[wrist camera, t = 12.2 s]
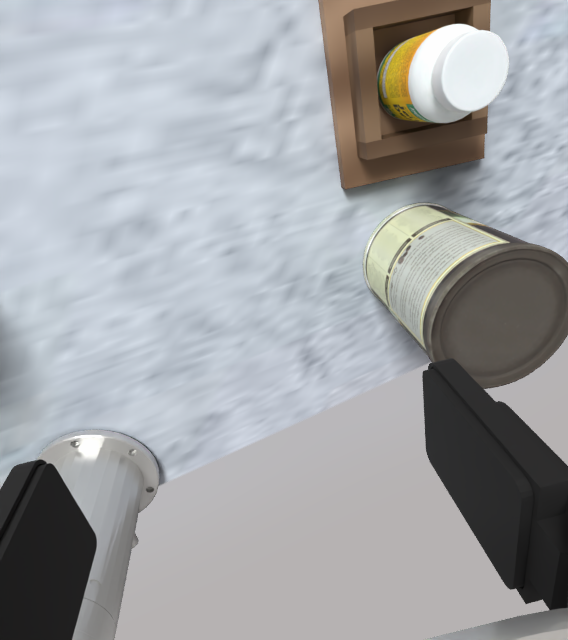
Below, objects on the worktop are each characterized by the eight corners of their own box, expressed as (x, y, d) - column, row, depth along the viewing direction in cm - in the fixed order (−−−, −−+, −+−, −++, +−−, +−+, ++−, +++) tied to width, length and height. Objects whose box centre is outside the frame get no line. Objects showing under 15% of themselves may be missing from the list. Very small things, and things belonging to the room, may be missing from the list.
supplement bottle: (450, 45, 32) (537, 23, 23) (430, 124, 34) (503, 130, 26) (382, 33, 31) (446, 5, 22) (366, 115, 33) (420, 118, 25)
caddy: (476, 156, 37) (501, 161, 34) (341, 187, 36) (354, 194, 33) (479, -49, 30) (511, -69, 27) (316, -16, 30) (329, -32, 27)
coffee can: (475, 198, 39) (600, 240, 26) (457, 302, 43) (556, 382, 31) (364, 203, 37) (440, 251, 25) (358, 311, 42) (419, 397, 29)
